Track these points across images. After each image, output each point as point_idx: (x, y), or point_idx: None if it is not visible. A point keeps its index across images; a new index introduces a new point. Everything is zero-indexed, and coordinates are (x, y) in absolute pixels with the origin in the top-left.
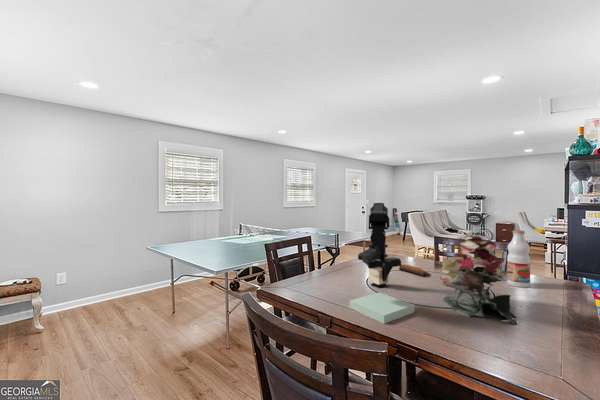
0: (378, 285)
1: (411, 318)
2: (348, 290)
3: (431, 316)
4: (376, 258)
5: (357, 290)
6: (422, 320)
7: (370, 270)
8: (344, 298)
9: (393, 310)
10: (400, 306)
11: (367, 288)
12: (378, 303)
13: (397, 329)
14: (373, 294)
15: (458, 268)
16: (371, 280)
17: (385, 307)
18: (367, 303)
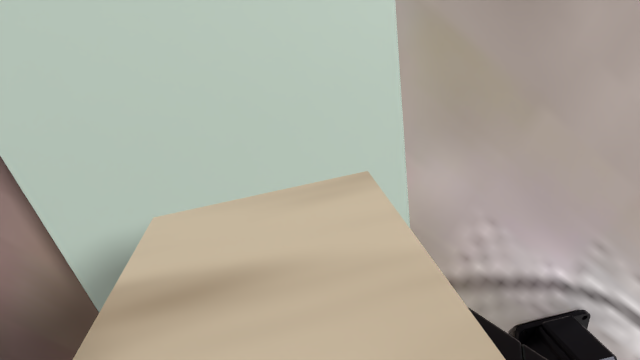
0: (539, 334)
1: (44, 236)
2: (626, 142)
3: (56, 341)
4: None
5: (582, 197)
6: (3, 274)
7: (408, 337)
8: (543, 15)
9: (23, 151)
10: (105, 247)
11: (561, 267)
12: (214, 130)
13: None
14: (399, 208)
15: None
16: (317, 197)
17: (108, 130)
18: (247, 34)
